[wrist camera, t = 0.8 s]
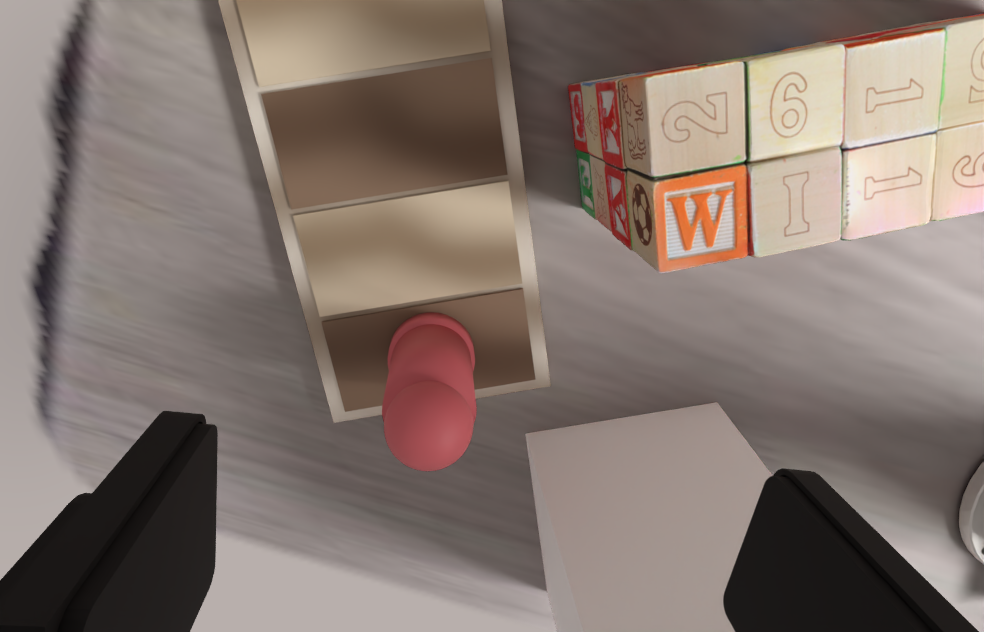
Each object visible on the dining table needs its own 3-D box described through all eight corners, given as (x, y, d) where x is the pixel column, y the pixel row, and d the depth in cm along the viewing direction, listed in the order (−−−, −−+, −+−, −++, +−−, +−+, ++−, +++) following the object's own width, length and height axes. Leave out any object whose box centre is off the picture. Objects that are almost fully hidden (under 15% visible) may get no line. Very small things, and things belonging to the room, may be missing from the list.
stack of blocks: (992, 8, 30) (1347, -51, 18) (977, 139, 32) (1286, 162, 20) (563, 84, 29) (644, 74, 18) (578, 212, 31) (658, 277, 20)
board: (547, 376, 34) (551, 387, 33) (337, 412, 34) (333, 424, 33) (486, -95, 26) (488, -106, 25) (211, -54, 26) (199, -62, 25)
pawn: (479, 382, 32) (494, 487, 24) (398, 395, 32) (382, 506, 23) (466, 306, 31) (476, 388, 22) (381, 319, 31) (357, 408, 22)
